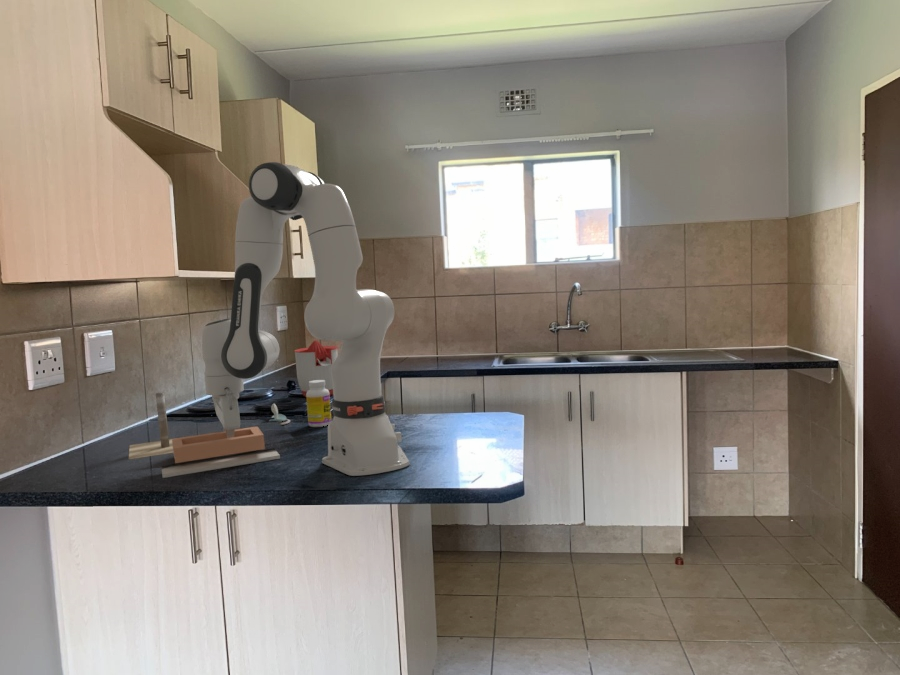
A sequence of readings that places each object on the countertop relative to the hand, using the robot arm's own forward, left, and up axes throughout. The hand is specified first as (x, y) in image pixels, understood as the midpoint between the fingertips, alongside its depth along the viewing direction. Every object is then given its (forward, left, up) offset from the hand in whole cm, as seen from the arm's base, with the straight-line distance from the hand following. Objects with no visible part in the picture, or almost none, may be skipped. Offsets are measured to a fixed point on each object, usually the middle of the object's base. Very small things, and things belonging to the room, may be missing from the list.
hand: (229, 440), depth 168 cm
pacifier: (+29, -17, -4) cm, 34 cm away
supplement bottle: (+19, -27, -4) cm, 33 cm away
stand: (+14, +9, -4) cm, 17 cm away
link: (-4, +3, -1) cm, 5 cm away
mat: (-4, +3, -4) cm, 6 cm away
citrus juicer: (+68, -39, -4) cm, 78 cm away
